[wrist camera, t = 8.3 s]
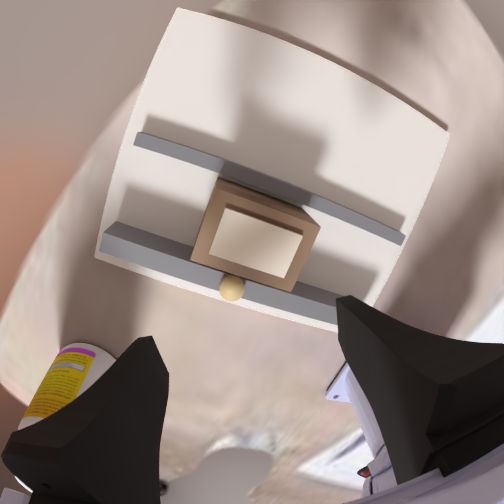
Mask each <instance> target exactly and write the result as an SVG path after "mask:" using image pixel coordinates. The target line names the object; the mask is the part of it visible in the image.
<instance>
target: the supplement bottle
mask: <svg viewBox="0 0 504 504" xmlns="http://www.w3.org/2000/svg"><path fill="white" fill-rule="evenodd" d="M115 361H116V359H115V358H113V357H112V356H111V355H110V354H109V353H107V352H106V351H104V350H102V349H101V348H99V347H97V346H94V345H91V344H87V343H72V344H69V345H67V346H65V347H64V348H63V349H62V350H61V351H60V352H59V354H58V355H57V357H56V358H55V360H54V362H53V363H52V365H51V367H50V368H49V370H48V372H47V374H46V375H45V377H44V379H43V381H42V383H41V384H40V386H39V388H38V390H37V392H36V394H35V395H34V397H33V399H32V401H31V403H30V405H29V407H28V409H27V411H26V413H25V415H24V416H23V418H22V420H21V423H20V425H19V428H18V430H20V429H23V428H25V427H27V426H30V425H32V424H34V423H36V422H39V421H40V420H42V419H44V418H46V417H48V416H50V415H51V414H53V413H55V412H57V411H58V410H60V409H61V408H63V407H64V406H66V405H67V404H68V403H70V402H71V401H73V400H74V399H76V398H77V397H78V396H79V395H81V394H82V393H83V392H84V391H86V390H87V389H88V388H89V387H90V386H91V385H92V384H93V383H94V382H95V381H97V380H98V379H99V378H100V377H101V376H102V375H103V374H104V373H105V372H106V371H107V370H108V369H109V368H110V367H111V365H112V364H113V363H114V362H115ZM15 478H16V479H17V481H19V483H20V484H21V485H22V486H24V487H25V488H26V489H27V490H29V491H30V492H33V491H32V490H31V489H29V488H28V487H27V486H26V485H25V484H24V483H23V482H21V481H20V480H19V479H18V478H17V477H16V476H15Z"/></svg>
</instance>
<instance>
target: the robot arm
mask: <svg viewBox="0 0 504 504" xmlns="http://www.w3.org/2000/svg"><path fill="white" fill-rule="evenodd" d="M336 311H337V325H338V340H339V343H340V346H341V348H342V351H343V354H344V356H345V359H346V361H347V363H346V364H345V366H344V367H343V369H342V370H341V372H340V373H339V375H338V376H337V378H336V379H335V380H334V382H333V383H332V385H331V386H330V388H329V389H328V391H327V392H326V394H325V396H326V398H327V399H328V400H336V401H344V402H351V405H352V407H353V409H354V412H355V414H356V416H357V419H358V421H359V423H360V426H361V428H362V431H363V433H364V435H365V438H366V440H367V443H368V445H369V448H370V450H371V452H372V455H373V457H374V460H373V461H371V462H370V463H369V464H368V467H369V470H370V472H371V476H369V477H368V478H367V479H366V480H365V481H364V485H363V491H362V498H360V499H356V500H353V501H350V502H346V503H343V504H504V344H502V343H478V342H469V341H462V340H456V339H451V338H447V337H443V336H439V335H435V334H431V333H428V332H425V331H422V330H420V329H417V328H414V327H411V326H409V325H407V324H404V323H402V322H400V321H398V320H396V319H394V318H392V317H390V316H388V315H386V314H384V313H382V312H380V311H378V310H376V309H375V308H373V307H371V306H369V305H368V304H366V303H364V302H363V301H361V300H359V299H357V298H356V297H354V296H352V295H348V296H344V297H340V298H336ZM168 392H169V373H168V370H167V368H166V366H165V364H164V362H163V360H162V357H161V355H160V353H159V351H158V349H157V346H156V344H155V342H154V339H153V337H152V336H147V337H140V338H137V339H136V340H135V341H134V342H133V343H132V344H131V345H130V346H129V347H128V348H127V349H126V350H125V352H124V353H123V354H122V355H121V356H120V357H119V358H118V359H117V360H116V361H115V362H114V363H113V364H112V365H111V367H110V368H109V369H108V370H107V371H106V372H105V373H104V374H103V375H102V376H101V377H100V378H99V379H98V380H97V381H95V382H94V383H93V384H92V385H91V386H90V387H89V388H88V389H87V390H86V391H84V392H83V393H82V394H81V395H79V396H78V397H77V398H76V399H74V400H73V401H71V402H70V403H68V404H67V405H66V406H64V407H63V408H61V409H60V410H58V411H57V412H55V413H53V414H51V415H50V416H48V417H46V418H44V419H42V420H40V421H39V422H36V423H34V424H32V425H30V426H27V427H25V428H23V429H20V430H18V431H15V432H13V433H12V434H11V436H10V438H9V440H8V442H7V444H6V446H5V449H4V450H3V452H2V455H1V457H2V460H3V463H4V464H5V466H6V467H7V468H8V469H9V470H10V471H11V472H12V473H13V474H14V475H15V476H16V477H17V478H18V479H19V480H20V481H21V482H23V483H24V484H25V485H26V486H27V487H28V488H29V489H31V490H32V491H33V492H32V495H31V497H29V496H28V495H26V494H23V493H21V492H18V491H15V490H11V489H8V488H4V491H3V493H2V496H1V499H0V504H160V489H159V450H160V440H161V434H162V428H163V423H164V417H165V412H166V406H167V400H168ZM335 395H336V396H335Z"/></svg>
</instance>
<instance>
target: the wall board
mask: <svg viewBox="0 0 504 504" xmlns="http://www.w3.org/2000/svg"><path fill="white" fill-rule="evenodd" d="M449 137H450V134H449V133H448V132H446V131H445V130H444V129H442V128H441V127H440V126H438V125H437V124H435V123H434V122H433V121H431V120H430V119H428V118H427V117H425V116H424V115H423V114H421V113H420V112H418V111H417V110H415V109H414V108H412V107H411V106H409V105H408V104H406V103H404V102H403V101H401V100H400V99H398V98H396V97H395V96H393V95H392V94H390V93H388V92H387V91H385V90H383V89H382V88H380V87H378V86H376V85H375V84H373V83H371V82H369V81H368V80H366V79H364V78H362V77H360V76H359V75H357V74H355V73H353V72H351V71H349V70H347V69H345V68H343V67H341V66H339V65H337V64H335V63H333V62H331V61H329V60H327V59H325V58H323V57H321V56H319V55H316V54H314V53H312V52H310V51H308V50H305V49H303V48H301V47H298V46H296V45H294V44H291V43H289V42H286V41H284V40H281V39H279V38H276V37H274V36H271V35H268V34H266V33H263V32H260V31H257V30H255V29H252V28H249V27H246V26H243V25H240V24H237V23H234V22H230V21H227V20H224V19H220V18H217V17H214V16H210V15H206V14H203V13H198V12H194V11H190V10H186V9H182V8H177V9H176V11H175V13H174V15H173V18H172V19H171V21H170V23H169V25H168V27H167V29H166V32H165V34H164V36H163V38H162V40H161V42H160V44H159V47H158V49H157V51H156V54H155V56H154V58H153V60H152V63H151V65H150V67H149V70H148V72H147V75H146V77H145V80H144V82H143V85H142V87H141V90H140V92H139V95H138V98H137V100H136V103H135V106H134V109H133V112H132V114H131V117H130V120H129V123H128V126H127V129H126V132H125V135H124V138H123V141H122V145H121V148H120V151H119V154H118V158H117V161H116V165H115V168H114V172H113V175H112V179H111V183H110V186H109V190H108V194H107V198H106V202H105V207H104V211H103V215H102V220H101V224H100V229H99V233H98V238H97V243H96V249H95V254H94V258H96V259H99V260H102V261H105V262H107V263H110V264H113V265H116V266H119V267H121V268H124V269H127V270H130V271H133V272H136V273H139V274H142V275H145V276H147V277H150V278H153V279H156V280H159V281H162V282H165V283H168V284H171V285H175V286H178V287H181V288H184V289H187V290H190V291H193V292H196V293H200V294H203V295H206V296H209V297H212V298H216V299H219V300H222V301H225V302H229V303H232V304H235V305H239V306H242V307H246V308H249V309H252V310H256V311H259V312H263V313H266V314H270V315H273V316H277V317H281V318H284V319H288V320H291V321H295V322H299V323H302V324H306V325H310V326H314V327H318V328H321V329H325V330H329V331H333V332H337V333H338V325H337V311H336V298H340V297H344V296H348V295H352V296H354V297H356V298H357V299H359V300H361V301H363V302H364V303H366V304H368V305H369V306H371V307H373V305H374V303H375V301H376V300H377V298H378V296H379V294H380V292H381V290H382V289H383V287H384V285H385V283H386V281H387V279H388V277H389V275H390V274H391V272H392V270H393V268H394V266H395V264H396V262H397V260H398V258H399V256H400V254H401V252H402V250H403V248H404V246H405V244H406V242H407V240H408V237H409V235H410V233H411V231H412V229H413V227H414V225H415V222H416V220H417V218H418V216H419V213H420V211H421V209H422V207H423V204H424V202H425V200H426V197H427V195H428V193H429V190H430V188H431V185H432V183H433V180H434V178H435V175H436V173H437V170H438V168H439V165H440V162H441V160H442V157H443V154H444V152H445V149H446V146H447V143H448V140H449ZM217 177H221V178H223V179H226V180H229V181H232V182H235V183H237V184H240V185H243V186H246V187H248V188H251V189H254V190H257V191H259V192H262V193H265V194H267V195H270V196H273V197H275V198H278V199H281V200H283V201H286V202H288V203H291V204H294V205H296V206H299V207H301V208H303V209H304V210H305V211H306V212H307V213H308V214H309V215H310V216H311V217H312V218H313V219H314V220H315V221H316V222H317V223H318V224H319V226H320V227H321V228H320V231H319V233H318V235H317V237H316V239H315V242H314V244H313V246H312V248H311V250H310V253H309V255H308V257H307V259H306V261H305V263H304V266H303V268H302V270H301V272H300V274H299V276H298V278H297V280H296V282H295V285H294V287H293V289H292V291H291V292H289V291H285V290H282V289H279V288H276V287H273V286H269V285H266V284H263V283H260V282H257V281H253V280H250V279H247V278H244V277H241V276H238V275H234V274H231V273H228V272H225V271H222V270H219V269H216V268H213V267H210V266H207V265H204V264H200V263H197V262H194V261H191V260H190V259H191V255H192V251H193V247H194V244H195V240H196V236H197V233H198V230H199V227H200V224H201V221H202V218H203V216H204V213H205V210H206V207H207V204H208V202H209V199H210V196H211V193H212V190H213V188H214V185H215V182H216V180H217Z"/></svg>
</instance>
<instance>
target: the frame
mask: <svg viewBox="0 0 504 504" xmlns="http://www.w3.org/2000/svg"><path fill="white" fill-rule="evenodd" d="M320 228H321V227H320V226H319V224H318V223H317V222H316V221H315V220H314V219H313V218H312V217H311V216H310V215H309V214H308V213H307V212H306V211H305V210H304V209H303V208H301V207H299V206H296V205H294V204H291V203H288V202H286V201H283V200H281V199H278V198H275V197H273V196H270V195H267V194H265V193H262V192H259V191H257V190H254V189H251V188H248V187H246V186H243V185H240V184H237V183H235V182H232V181H229V180H226V179H223V178H221V177H217V180H216V182H215V185H214V188H213V190H212V193H211V196H210V199H209V202H208V204H207V207H206V210H205V213H204V216H203V218H202V221H201V224H200V227H199V230H198V233H197V236H196V240H195V244H194V247H193V251H192V255H191V259H190V260H191V261H194V262H197V263H200V264H204V265H207V266H210V267H213V268H216V269H219V270H222V271H225V272H228V273H231V274H234V275H238V276H241V277H244V278H247V279H250V280H253V281H257V282H260V283H263V284H266V285H269V286H273V287H276V288H279V289H282V290H285V291H289V292H291V291H292V289H293V287H294V285H295V282H296V280H297V278H298V276H299V274H300V272H301V270H302V268H303V266H304V263H305V261H306V259H307V257H308V255H309V253H310V250H311V248H312V246H313V244H314V242H315V239H316V237H317V235H318V233H319V231H320Z"/></svg>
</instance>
